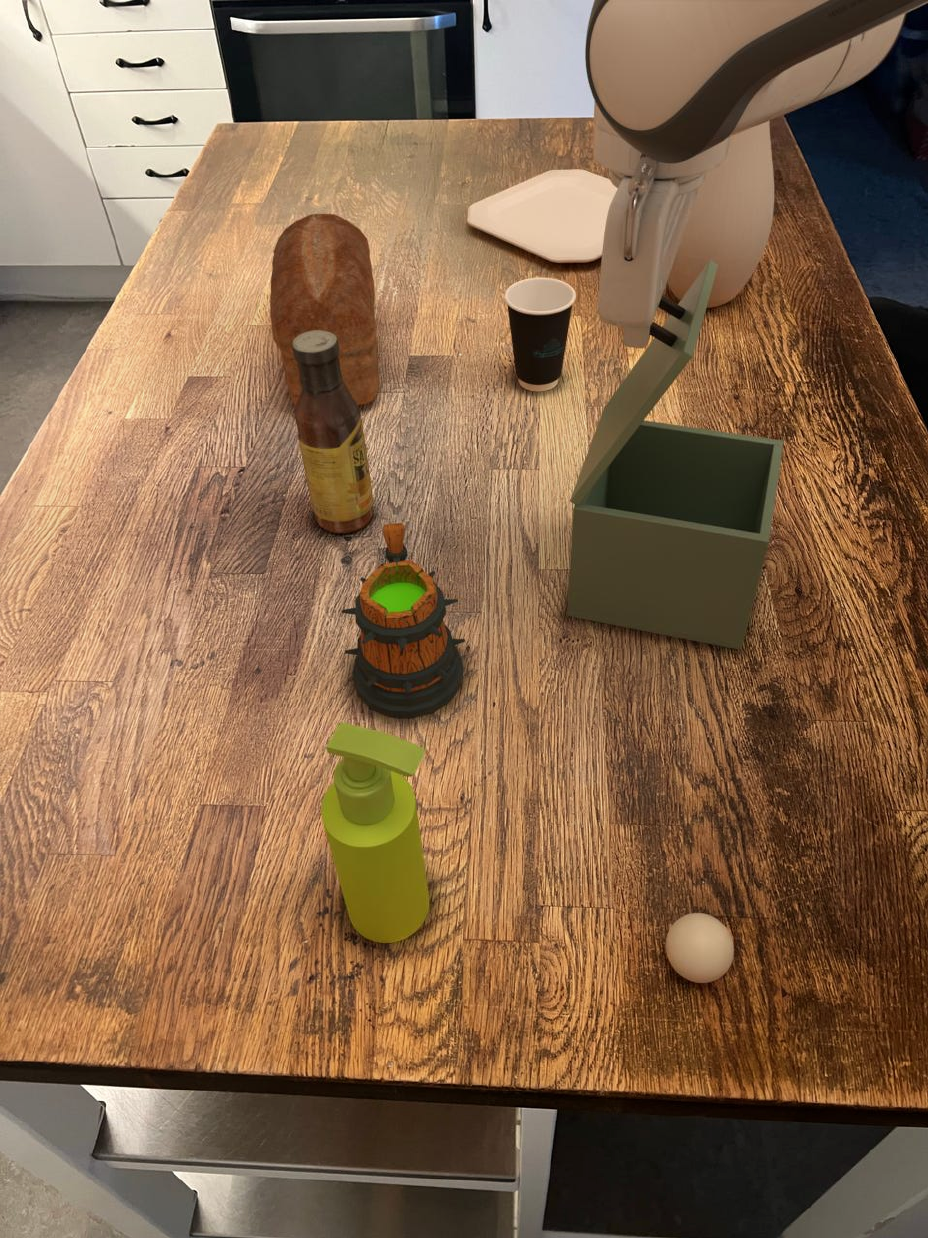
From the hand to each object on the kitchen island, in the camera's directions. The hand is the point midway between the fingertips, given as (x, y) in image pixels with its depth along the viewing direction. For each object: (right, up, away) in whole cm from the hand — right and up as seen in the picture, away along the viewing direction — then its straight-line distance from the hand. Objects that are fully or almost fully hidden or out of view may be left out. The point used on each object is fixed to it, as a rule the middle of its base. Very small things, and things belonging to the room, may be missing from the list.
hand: (644, 320), depth 72 cm
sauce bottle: (-26, -12, +27) cm, 39 cm away
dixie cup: (-5, +6, +42) cm, 43 cm away
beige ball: (+2, -44, -9) cm, 45 cm away
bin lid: (+1, -4, +4) cm, 6 cm away
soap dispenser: (-19, -43, -3) cm, 47 cm away
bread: (-30, +10, +48) cm, 57 cm away
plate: (+2, +36, +70) cm, 79 cm away
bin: (+5, -19, +18) cm, 27 cm away
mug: (-19, -26, +13) cm, 35 cm away
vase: (+18, +20, +54) cm, 60 cm away
